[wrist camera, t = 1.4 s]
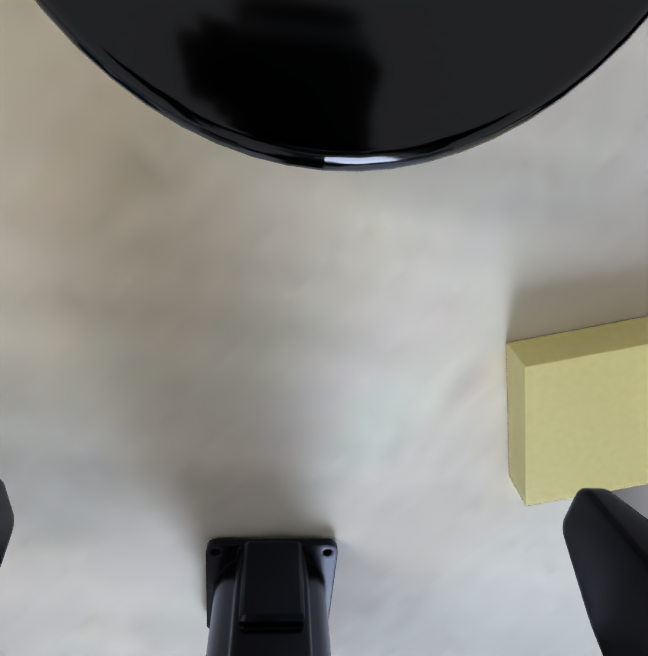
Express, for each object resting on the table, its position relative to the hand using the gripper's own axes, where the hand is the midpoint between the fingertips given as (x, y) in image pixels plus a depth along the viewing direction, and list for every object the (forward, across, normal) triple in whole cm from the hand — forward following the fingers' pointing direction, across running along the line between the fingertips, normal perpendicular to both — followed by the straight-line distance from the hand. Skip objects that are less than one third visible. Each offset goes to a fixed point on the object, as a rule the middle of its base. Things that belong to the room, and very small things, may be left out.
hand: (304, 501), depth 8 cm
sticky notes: (+13, -14, +8) cm, 20 cm away
